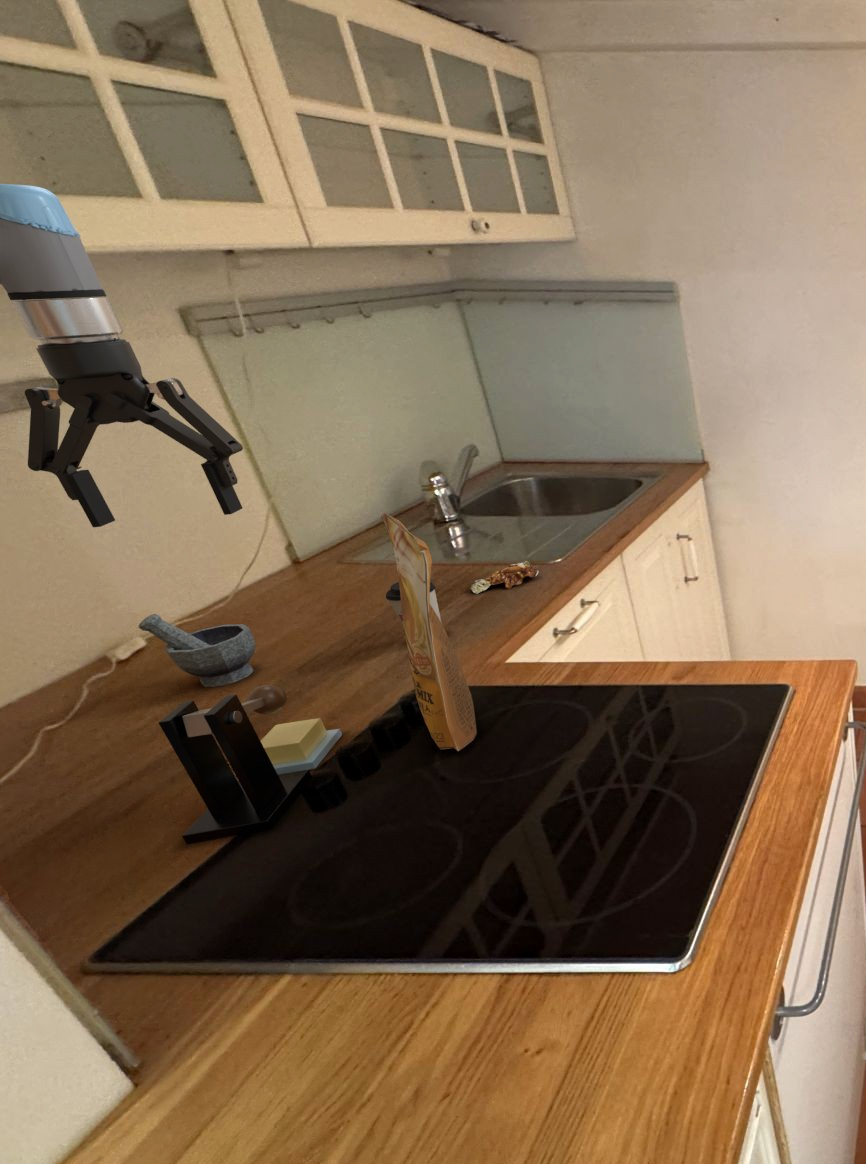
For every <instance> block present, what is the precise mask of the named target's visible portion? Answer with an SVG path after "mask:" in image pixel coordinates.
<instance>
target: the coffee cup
mask: <svg viewBox="0 0 866 1164" xmlns="http://www.w3.org/2000/svg"><path fill="white" fill-rule="evenodd" d="M435 589H436V585H435V584H434V583H433V582H431V581H430V602H429V603H430V605H431V606H432V608H433V610H434V611H435V613H436V614H437V616H438V618H439V620H440V621H441V622H442V617H441V614H440V609H439V604H438V599H437V595H436V590H435ZM385 600H388V602H389V604H390V606H391V607H392V609H393V610H394V612H395V614H396V616H397V618H398V619H399V621H400V624H401V625H402V627H403V628H404V624H403V617H402V608H401V596H400V587H399V581H396V582H395V583H393V584H392V585H390V589H389V590H387V591H386V593H385Z"/></svg>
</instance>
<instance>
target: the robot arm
mask: <svg viewBox="0 0 866 1164" xmlns="http://www.w3.org/2000/svg"><path fill="white" fill-rule="evenodd" d="M74 226H75V225H73V223H72V221H71V219H70V217H69V215H68V213H67V212H66V209H65V208H64V206H63V204H62V203H61V200H60V199H59V197H58V196H57V195H56V194H55V193H53V192H52V191H51V190H48V189H46V188H43V187H40V186H36V185H29V184H12V183H0V285H1V286H2V288H3V289H4V291H6V294H7V296H8V298H9V301H11V305H12V306H13V308H14V310H15V312H16V313H17V316H18V318H19V319H20V321H21V323H22V325H23V327H24V329H25V331H26V333H27V335H28V337H29V338H30V339H32V340H34V341H35V340H38V341H39V342H40V343H41V344H37V348H35V349H36V352H37V353H38V355H39V357H40V359H41V361H42V363H43V365H44V368H46V370H47V372H48V374H49V375H50V377H52V379H54V380H55V382H56V383H57V388H54V387H51V386H48V385H42V386H36V387H30V388H26V389H25V390H24V396H25V398H26V401H27V403H28V405H29V409H30V417H29V418H30V419H29V435H28V452H27V453H28V454H27V467H28V468H29V470H30V471H34V472H39V471H41V472H47V473H50V474H53V475H55V477H57V479H58V481H59V482H60V484H61V486H62V488H63V490H64V491H65V493H66V495H67V497H68V498H70V500H71V501H78V503H79V505H80V507H81V508H82V510H83V512H84V514H85V515H86V518H87V519H88V521H89V523H90V526H91V527H92V528H101V527H103V526H107V525H108V524H111V523H113V522H115V521H116V519H115V517H114V515H113V513H112V511H111V509H110V507H109V506H108V503H107V502H106V500H105V498H104V496H103V495H102V494H103V493H102V492H101V490H100V489H99V487H98V485H97V483H96V481H95V479H94V478H93V475H92V473H91V472H90V470H89V469H82V466H80V465H81V463H82V460H83V458H84V455H85V454H86V452H87V450H88V447H89V446H90V444H91V441H92V439H93V437H94V435H95V433H96V431H97V429H98V427H99V426H100V425H111V424H114V423H123V424H129V423H134V422H139V421H140V422H141V423H143V424H145V425H148V426H151V427H153V428H154V429H156V430H158V431H159V432H161V433H163V434H164V435H166V436H167V437H169V438H170V439H172V440H174V441H176V442H177V443H178V444H180V445H182V446H184V447H185V448H187V449H188V450H190V451H192V452H193V453H195V454H196V455H198V456H200V457H201V458H203V459H204V460H206V461H205V462H203V463H201V464H200V466H201V468H202V470H203V472H204V474H205V476H206V479H207V481H208V483H209V485H210V488H211V490H212V491H213V494H214V496H215V498H216V500H217V502H218V504H219V507H220V509H221V511H222V513H223V515H224V516H226V515H233V514H235V513H237V512H239V511H241V510H242V509H243V506H242V504H241V501H240V499H239V497H238V495H237V492H236V490H235V488H234V486H235V485H237V484H238V478H237V475H236V473H235V471H234V468H233V466H232V463H231V462H230V457H231V456H233V455H235V454H237V453H240V452H242V451H243V449H244V447H243V445H242V444H241V443H240V441H238V440H237V439H236V438H235V437H234V436H233V435H232V434H231V433H230V432H229V431H227V430H226V429H225V428H224V427H223V426H222V425H221V423H219V422H218V421H216V419H215V418H213V416H211V415H210V414H209V413H208V412H207V411H206V410H205V409H204V408H203V407H202V406H200V404H198V402H196V401H195V400H194V399H193V398H192V397H191V396H190V395H189V393H188V391H187V390H186V388H185V386H184V385H183V384H182V381H181V380H179V379H178V378H175V377H172V378H166V379H162V380H158V381H156V382H151V383H150V382H149V381H148V380H147V379H146V378H145V376H144V375H143V371H142V366H141V364H140V362H139V360H138V358H137V356H136V353H135V352H134V349H133V347H132V345H131V343H130V341H127V340H126V339H124V338H120V336H119V335H122V334H123V332H124V329H123V327H122V325H121V322H120V321H119V319H118V317H117V314H116V313H115V310H114V307H113V306H112V303H111V302H110V299H109V297H108V296H107V294H106V292H105V290H104V289H103V286H102V284H101V282H100V280H99V278H98V275H97V273H96V271H95V269H94V266H93V264H92V262H91V260H90V257H89V255H88V253H87V251H86V248H85V246H84V244H83V241H82V239H81V234H80V233H79V231H77V230H76V228H75V227H74ZM155 395H157V397H158V398H159V399H161V400H163V401H165V403H167V404H168V406H169V407H171V408H172V409H173V410H174V411H175V412H176V413H177V414H178V415H179V416H181V417H182V419H183V420H185V421H186V422H188V424H189V425H190V426H191V427H190V426H188V425H187V424H185V423H184V422H182V421H180V420H179V419H177V418H176V417H174V416H173V415H171V414H170V412H169V411H168V410H167V409H165V408H163V407H162V406H161V405H159V404H158V403H156V402H154V401H153V400H154V397H155ZM63 402H64V403H65V404H67V405H68V406H70V407H71V408H73V411H72V413H71V415H70V416H69V417H70V418H69V420H68V424H69V426H68V428H67V430H66V431H65V434H64V436H63V439H62V440H61V442H60V445H59V437H60V425H61V424H60V423H61V422H60V421H61V406H62V404H63ZM79 469H80V470H79Z"/></svg>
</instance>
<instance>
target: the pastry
mask: <svg viewBox="0 0 866 1164" xmlns="http://www.w3.org/2000/svg"><path fill="white" fill-rule="evenodd" d="M539 573H540V571H539V569H538V566H535V567H534V566H533V565H532V564H530V562H529V560H525V561H522V562H518V563H511V564H508V565H507V567H505V568H503V569H502V570H496V571H495V572H493V573H491V574H490V576H487V577H485V578H479V579H476V580H474V583H473V584H471V586H470V587H469V590H471V591H472V592H473V593H474V594H476V595H478V594H479V593H481V592H485V591H486V590H487V589H488V588H490V586H494V585H499V584H502V583H504V585H505V588H506V589H508V590H509V589H511V588H513V586H518V585H521V584H523V580H524V578H525V577H527V576H529V577H530V578H535V577H537V576H538V574H539Z"/></svg>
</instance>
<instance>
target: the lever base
mask: <svg viewBox="0 0 866 1164" xmlns="http://www.w3.org/2000/svg"><path fill="white" fill-rule="evenodd" d="M241 703H242V702H241V700H240V699H239V697H238V694H229V695H225V696H224V697H223V698H222V699H220V700H219V702H217V703H216V704H215V705H214V706H213V707H212V709H211V708H210V709H211V710H209V711H208V712H207V713H206V714H205V715H204V718H205V720H206V722H207V723H208V725H209V727H210V729H211V731H212V733H213V734H208V735H201V736H195V737H188V735H187V732H186V728H185V725H184V721H183V718H182V716H184V715H187V714H190V713H193V712H196V711H199V710H200V709H199V707H198V706H197V704H196V702H195V700H187V701H183V702H181V703H180V704H179V705H178V706H176V707H175V708H174V709H173V710H172V711H170V712H169V713H168V714H166V715H165V716H164V717H163V718H162V719H161V720H159V721H158V725H159V727H160V728H161V730H162V732H163V734H164V735H165V737H166V738H167V740H168V742H169V744H170V746H171V748H172V749H173V751H174V752H175V753H174V754H175V755H176V756H177V758H178V760H179V762H180V763H181V764H182V767H183V768H184V770H185V772H186V774H187V775H188V777H189V778H190V780H191V782H192V784H193V786H194V787H195V789H196V790H197V792H198V794H199V796H200V798H201V799H202V801H203V803H204V805H205V806H206V809H205V810H204V812H202V814H201V815H200V816H199V817H197V819H196V820H195V821H194V822H193V823H192V824H191V825H190V826H189V827H188V829H187V830H186V831H185V832H184V833H183V834H182V835H181V837H182V839H183V840H184V842H185V844H186V845H189V844H195V843H200V842H201V843H202V842H207V841H211V840H212V841H213V840H218V839H223V838H228V837H229V838H230V837H235V836H239V835H245V834H251V833H256V832H262V831H267V830H272V829H273V828H274V827H275V825H276V824H277V823H278V822H279V820H280V819H281V818H282V816H283V815H284V814H286V811H288V809H289V808H290V807H291V805H292V804H293V803H294V801H295V800H296V799H297V798H298V797H299V795H300V794H301V792H302V791H303V790H304V789H305V788H306V786H307V785H308V784H309V783H310V781H311V780H312V779H313V775H312V774H311V770H310V769H309V770H303V771H297V772H291V773H285V774H279V775H278V774H277V772H276V770H275V768H274V766H273V764H272V763H271V761H270V759H269V757H268V755H267V753H266V751H265V749H264V747H263V745H262V743H261V739H260V737H259V736H258V733H257V731H256V729H255V728H254V726H253V724H252V721H251V720H250V718H249V716H248V714H247V713H246V712H245V710H244V708H243V706H242V704H241Z"/></svg>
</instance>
